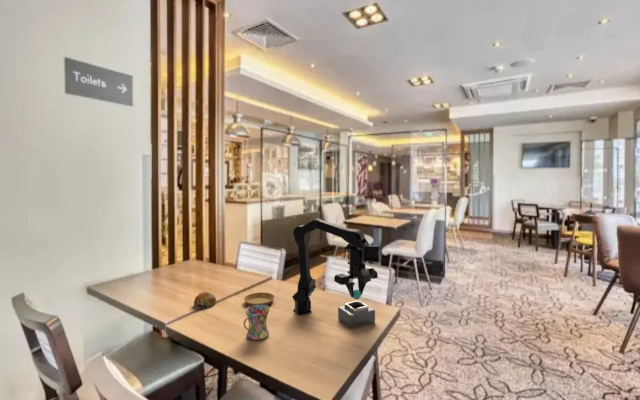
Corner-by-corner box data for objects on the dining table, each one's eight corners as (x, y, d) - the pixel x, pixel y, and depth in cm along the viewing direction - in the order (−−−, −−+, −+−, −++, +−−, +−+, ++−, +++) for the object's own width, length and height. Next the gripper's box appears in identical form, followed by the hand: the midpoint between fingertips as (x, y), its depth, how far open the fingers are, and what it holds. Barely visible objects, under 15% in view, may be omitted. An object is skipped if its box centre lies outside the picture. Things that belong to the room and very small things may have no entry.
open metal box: (351, 329, 132) (351, 312, 132) (338, 319, 141) (338, 303, 140) (374, 322, 138) (374, 306, 137) (361, 313, 147) (361, 298, 146)
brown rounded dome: (217, 311, 159) (222, 294, 162) (203, 309, 151) (208, 291, 153) (202, 307, 163) (207, 291, 166) (187, 306, 155) (192, 288, 157)
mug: (257, 328, 133) (256, 302, 133) (274, 333, 129) (274, 307, 128) (235, 341, 123) (234, 313, 122) (253, 347, 118) (253, 319, 118)
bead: (355, 301, 136) (355, 292, 136) (349, 298, 140) (349, 289, 139) (362, 299, 138) (362, 290, 138) (357, 296, 142) (357, 287, 141)
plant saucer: (250, 296, 169) (250, 291, 169) (278, 298, 167) (278, 293, 166) (239, 307, 154) (239, 302, 154) (269, 309, 152) (269, 304, 152)
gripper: (348, 267, 126) (348, 307, 127) (386, 261, 135) (385, 298, 136) (333, 261, 136) (333, 297, 137) (369, 255, 145) (369, 290, 146)
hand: (356, 296), depth 139 cm, fingers closed on bead, 4 cm apart
